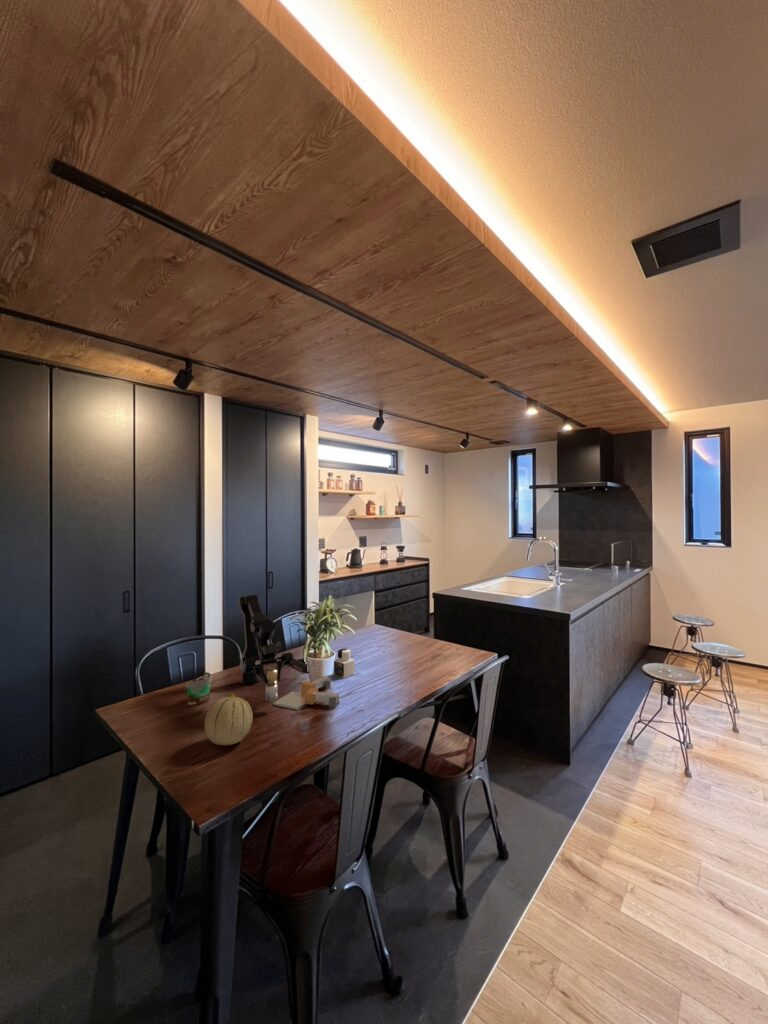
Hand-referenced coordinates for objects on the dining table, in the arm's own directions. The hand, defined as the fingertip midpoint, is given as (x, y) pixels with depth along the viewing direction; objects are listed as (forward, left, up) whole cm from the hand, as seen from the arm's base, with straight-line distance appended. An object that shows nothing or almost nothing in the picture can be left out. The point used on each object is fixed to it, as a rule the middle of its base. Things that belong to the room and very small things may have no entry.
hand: (272, 682), depth 156 cm
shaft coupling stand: (-18, +8, -11) cm, 22 cm away
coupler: (-1, -1, -7) cm, 7 cm away
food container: (+4, -33, -12) cm, 35 cm away
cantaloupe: (+23, +1, -12) cm, 26 cm away
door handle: (-50, -19, -12) cm, 55 cm away
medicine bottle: (-45, +5, -12) cm, 47 cm away
